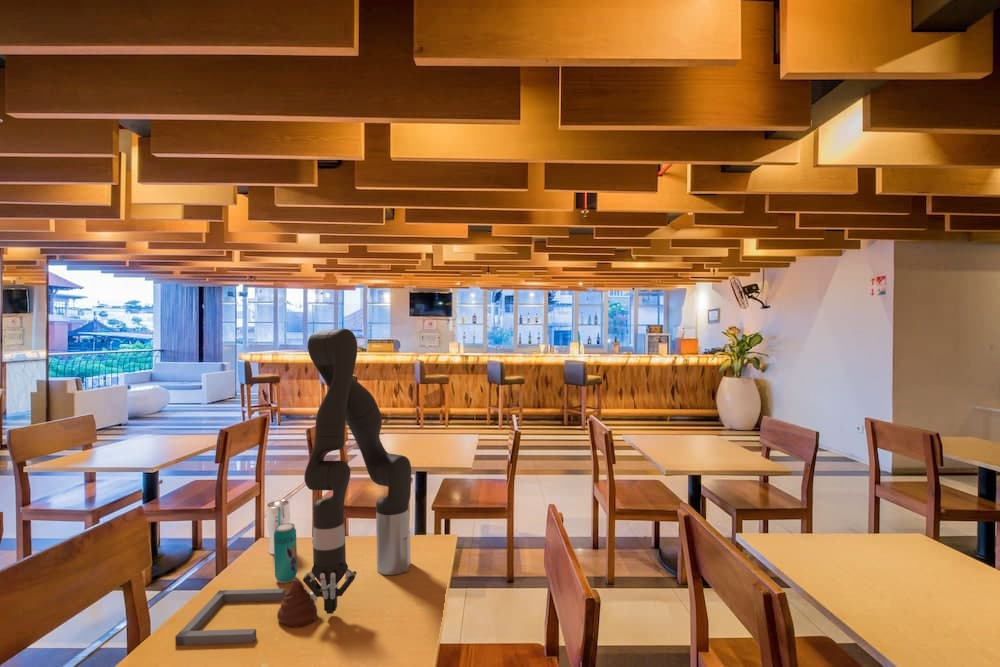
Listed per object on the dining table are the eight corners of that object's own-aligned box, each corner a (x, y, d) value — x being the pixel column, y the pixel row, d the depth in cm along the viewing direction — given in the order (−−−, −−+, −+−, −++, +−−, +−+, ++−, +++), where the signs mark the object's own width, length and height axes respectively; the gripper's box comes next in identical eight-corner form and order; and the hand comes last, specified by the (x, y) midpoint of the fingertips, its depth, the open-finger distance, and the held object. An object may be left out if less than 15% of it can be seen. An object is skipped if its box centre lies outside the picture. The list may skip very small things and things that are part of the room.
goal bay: (285, 596, 140) (285, 588, 139) (252, 642, 120) (252, 634, 120) (219, 598, 139) (219, 590, 139) (175, 645, 119) (175, 636, 119)
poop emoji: (269, 620, 128) (268, 582, 128) (299, 604, 136) (298, 568, 135) (296, 633, 123) (295, 593, 123) (326, 615, 130) (325, 578, 130)
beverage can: (289, 585, 145) (288, 531, 145) (270, 583, 146) (269, 529, 146) (301, 575, 151) (300, 523, 150) (283, 573, 152) (281, 521, 151)
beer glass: (296, 548, 169) (295, 501, 168) (278, 557, 162) (277, 508, 162) (280, 544, 172) (278, 498, 171) (262, 553, 165) (261, 505, 165)
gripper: (360, 535, 133) (361, 602, 134) (306, 536, 133) (308, 604, 133) (353, 547, 126) (354, 619, 126) (296, 549, 125) (298, 621, 126)
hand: (330, 611), depth 130 cm, fingers closed
